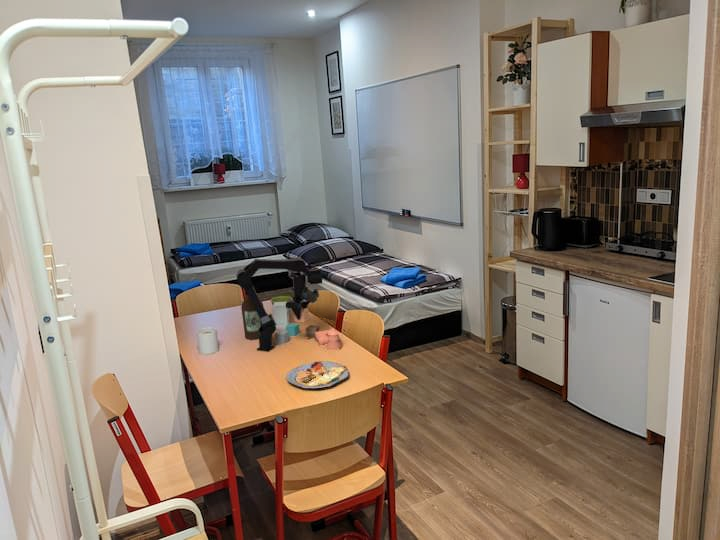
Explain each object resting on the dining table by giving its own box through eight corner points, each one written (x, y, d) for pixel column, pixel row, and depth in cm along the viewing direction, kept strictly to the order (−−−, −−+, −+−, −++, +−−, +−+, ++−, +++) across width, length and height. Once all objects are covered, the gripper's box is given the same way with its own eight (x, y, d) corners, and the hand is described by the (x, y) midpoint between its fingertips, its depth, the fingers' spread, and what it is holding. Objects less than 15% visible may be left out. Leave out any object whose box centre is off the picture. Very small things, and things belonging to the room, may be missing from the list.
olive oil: (244, 334, 277) (240, 285, 271) (265, 332, 278) (262, 284, 272) (243, 341, 266) (238, 291, 261) (265, 339, 268) (261, 289, 262)
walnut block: (315, 338, 266) (315, 329, 265) (306, 338, 268) (305, 328, 267) (319, 335, 271) (319, 325, 270) (310, 334, 273) (310, 325, 272)
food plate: (318, 361, 238) (318, 353, 237) (360, 374, 224) (360, 366, 223) (275, 382, 220) (274, 374, 219) (317, 398, 205) (317, 390, 204)
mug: (213, 355, 250) (211, 334, 247) (194, 354, 252) (191, 333, 249) (223, 346, 260) (221, 326, 258) (205, 345, 262) (203, 325, 260)
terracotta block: (304, 322, 254) (303, 311, 253) (294, 321, 255) (293, 310, 254) (308, 318, 258) (308, 308, 257) (299, 318, 260) (298, 307, 259)
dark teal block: (295, 336, 270) (294, 327, 269) (286, 336, 272) (285, 326, 271) (299, 333, 275) (299, 324, 274) (290, 332, 277) (290, 323, 275)
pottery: (315, 340, 265) (314, 320, 263) (333, 337, 268) (333, 318, 266) (325, 352, 248) (324, 332, 246) (345, 349, 251) (344, 329, 249)
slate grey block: (284, 344, 260) (283, 334, 259) (275, 343, 262) (274, 333, 261) (289, 341, 265) (288, 331, 264) (280, 340, 267) (279, 330, 265)
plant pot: (270, 317, 302) (268, 297, 300) (291, 314, 306) (290, 295, 303) (273, 323, 291) (272, 303, 289) (295, 321, 295) (294, 300, 292)
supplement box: (288, 329, 282) (286, 305, 279) (273, 329, 282) (271, 305, 279) (290, 324, 289) (288, 301, 286) (276, 324, 289) (274, 301, 286)
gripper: (306, 291, 242) (308, 325, 245) (324, 281, 259) (325, 313, 262) (284, 290, 246) (286, 323, 249) (302, 280, 263) (304, 311, 266)
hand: (301, 317), depth 257 cm, fingers closed on terracotta block, 5 cm apart
